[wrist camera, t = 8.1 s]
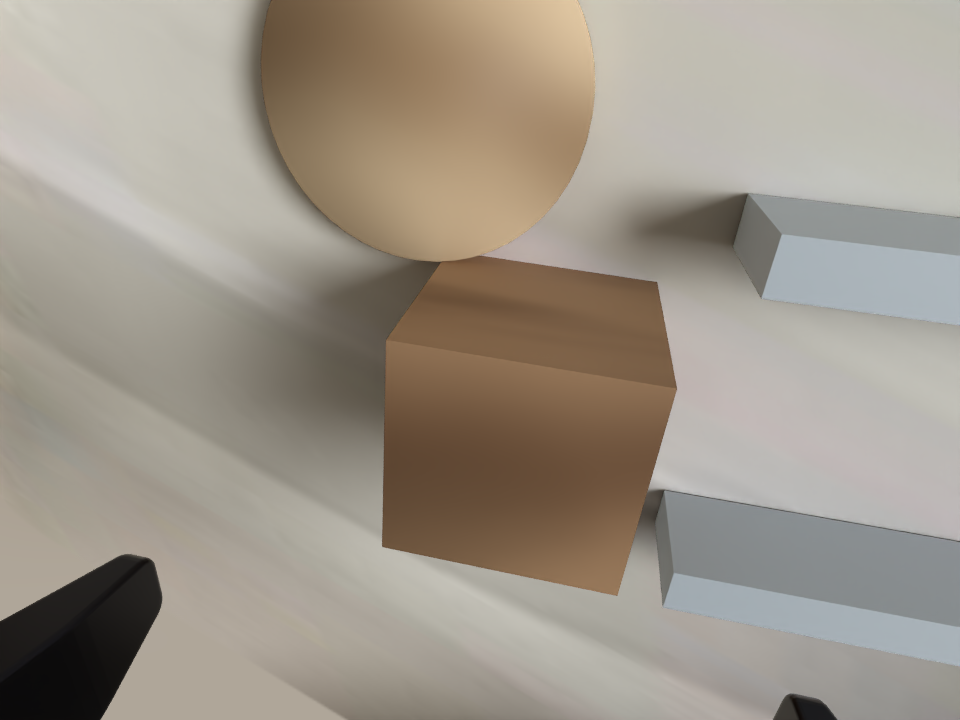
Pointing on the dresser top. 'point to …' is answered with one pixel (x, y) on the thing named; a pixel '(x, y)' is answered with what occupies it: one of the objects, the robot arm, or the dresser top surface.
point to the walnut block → (525, 419)
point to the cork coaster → (429, 115)
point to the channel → (807, 539)
